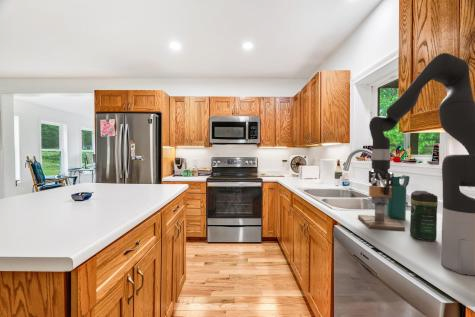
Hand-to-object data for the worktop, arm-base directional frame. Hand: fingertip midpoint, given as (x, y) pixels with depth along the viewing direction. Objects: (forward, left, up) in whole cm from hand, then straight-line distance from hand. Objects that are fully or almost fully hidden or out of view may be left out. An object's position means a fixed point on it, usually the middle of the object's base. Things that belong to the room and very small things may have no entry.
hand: (380, 193), depth 116 cm
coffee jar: (-17, -10, -15) cm, 25 cm away
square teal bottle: (+15, -13, -15) cm, 25 cm away
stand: (0, 0, -14) cm, 14 cm away
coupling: (0, 0, -5) cm, 5 cm away
